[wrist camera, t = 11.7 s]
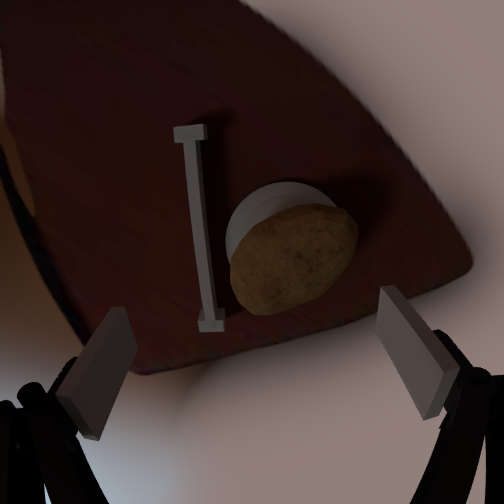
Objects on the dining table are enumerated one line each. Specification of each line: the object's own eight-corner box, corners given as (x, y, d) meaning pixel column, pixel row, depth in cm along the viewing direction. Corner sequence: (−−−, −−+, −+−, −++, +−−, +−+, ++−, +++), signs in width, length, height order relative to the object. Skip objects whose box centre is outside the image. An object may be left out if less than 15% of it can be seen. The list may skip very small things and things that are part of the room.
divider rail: (180, 128, 31) (173, 127, 29) (206, 125, 31) (202, 123, 28) (203, 319, 39) (199, 332, 37) (225, 318, 39) (224, 331, 36)
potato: (360, 242, 35) (387, 269, 27) (262, 306, 38) (265, 345, 30) (317, 172, 32) (338, 181, 25) (213, 244, 35) (203, 273, 27)
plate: (220, 185, 34) (219, 186, 33) (345, 179, 33) (347, 180, 32) (231, 298, 38) (231, 302, 37) (342, 290, 38) (344, 294, 37)
